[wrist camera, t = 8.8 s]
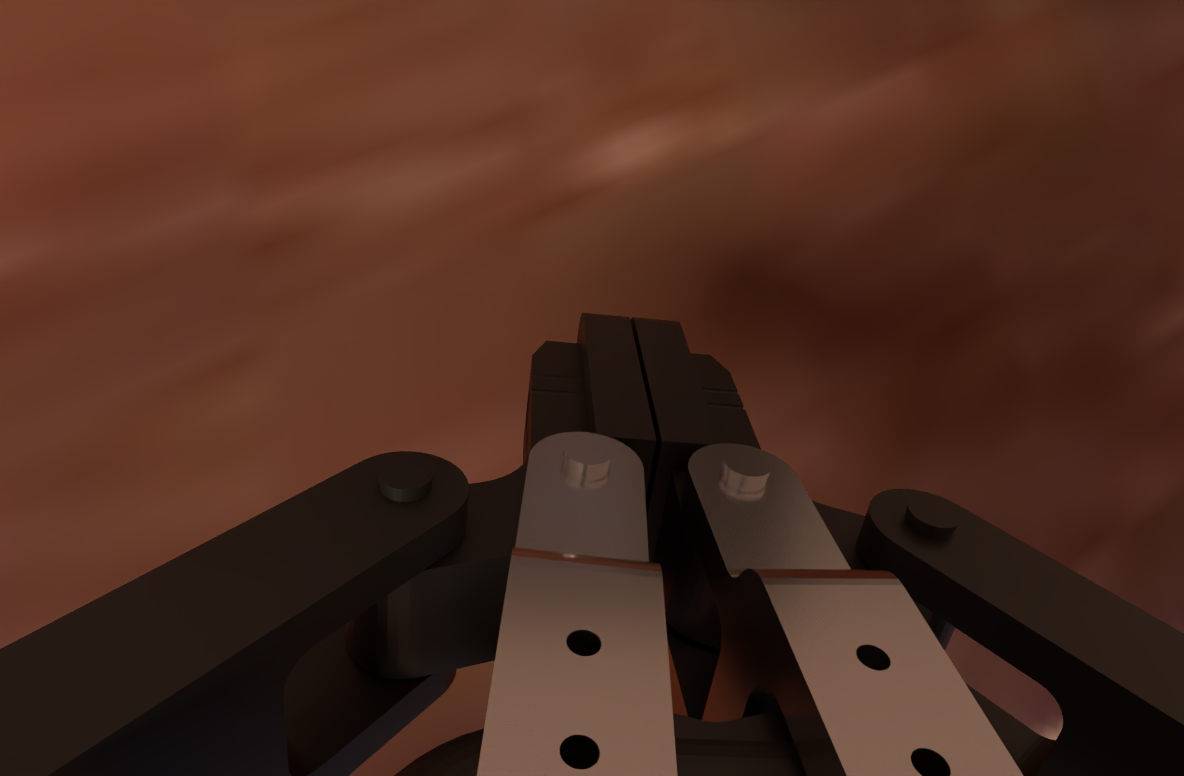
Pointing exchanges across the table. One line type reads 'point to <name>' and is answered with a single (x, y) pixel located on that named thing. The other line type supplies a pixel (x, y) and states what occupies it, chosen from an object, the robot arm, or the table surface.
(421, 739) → the table surface
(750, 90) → the table surface
